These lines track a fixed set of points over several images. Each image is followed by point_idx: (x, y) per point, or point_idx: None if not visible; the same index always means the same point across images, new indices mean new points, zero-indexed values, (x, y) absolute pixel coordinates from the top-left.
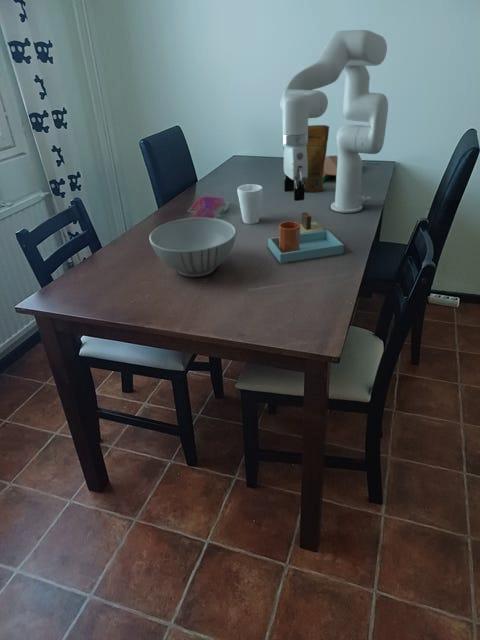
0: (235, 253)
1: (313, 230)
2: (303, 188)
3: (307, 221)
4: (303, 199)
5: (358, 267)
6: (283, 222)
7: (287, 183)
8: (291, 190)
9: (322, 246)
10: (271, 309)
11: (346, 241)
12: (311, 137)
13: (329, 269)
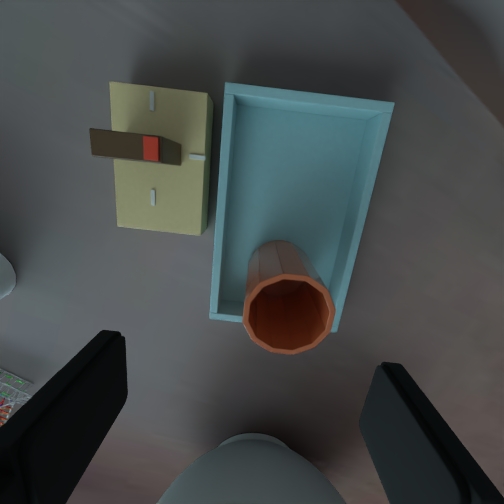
0: (214, 382)
1: (197, 140)
2: (484, 491)
3: (169, 159)
4: (397, 367)
5: (485, 119)
6: (247, 324)
7: (76, 461)
8: (123, 356)
9: (290, 152)
10: (501, 405)
11: (284, 29)
12: None
13: (435, 213)
